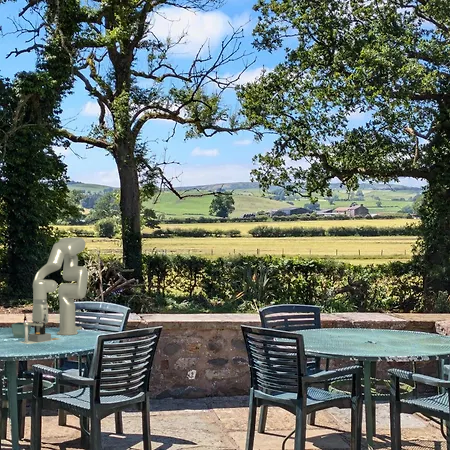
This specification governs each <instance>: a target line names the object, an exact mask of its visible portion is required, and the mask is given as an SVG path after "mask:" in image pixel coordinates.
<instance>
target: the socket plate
mask: <svg viewBox="0 0 450 450" xmlns="http://www.w3.org/2000/svg"><path fill="white" fill-rule="evenodd" d="M51 338H52V333H49V332H45V334H41V335H37V334H36V333H35V332H34V333H29V335H28V326H25V338H24V341H19V343H21V344H27V345H32V344H38V343H44V342H51V341H52V342H53V341H54V340H51Z"/></svg>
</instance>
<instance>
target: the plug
mask: <svg viewBox="0 0 450 450" xmlns="http://www.w3.org/2000/svg"><path fill="white" fill-rule="evenodd" d="M40 327H41V326H36V334H37V335H41V334H40Z"/></svg>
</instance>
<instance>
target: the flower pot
mask: <svg viewBox="0 0 450 450" xmlns="http://www.w3.org/2000/svg"><path fill="white" fill-rule="evenodd" d="M31 329H32V325H28V336H29V334H31ZM11 331H12V334H13V336H14V338H15V339H25V326H24V322H21V321H20V322H19V321H18V322H15V323H11Z"/></svg>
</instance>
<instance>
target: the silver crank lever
mask: <svg viewBox="0 0 450 450" xmlns="http://www.w3.org/2000/svg"><path fill="white" fill-rule="evenodd" d="M23 323H24V326H28V325H31V327H32V326H33V327H35V326H43V323H42V322H39V324H36V323H33V322H29V321H28V322H27V321H26V322H24V321H23Z"/></svg>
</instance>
